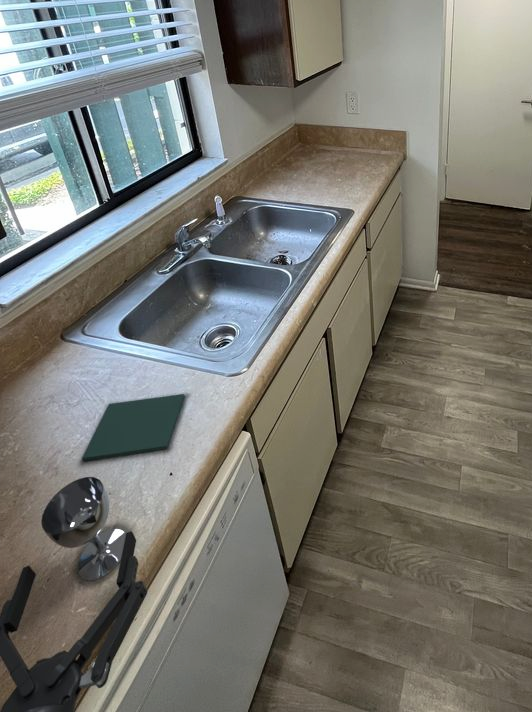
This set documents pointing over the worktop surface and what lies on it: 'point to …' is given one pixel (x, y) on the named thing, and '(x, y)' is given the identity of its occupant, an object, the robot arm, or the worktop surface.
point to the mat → (135, 427)
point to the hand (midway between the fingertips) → (82, 552)
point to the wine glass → (84, 526)
